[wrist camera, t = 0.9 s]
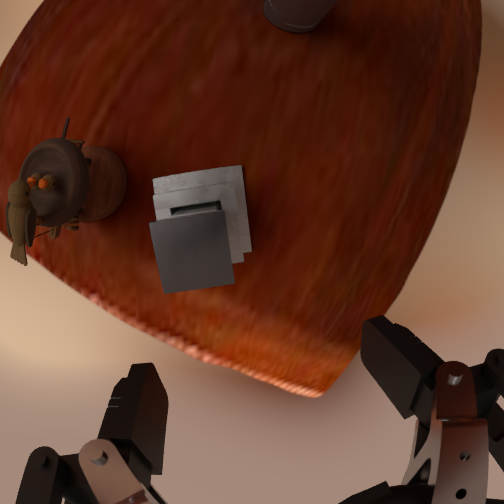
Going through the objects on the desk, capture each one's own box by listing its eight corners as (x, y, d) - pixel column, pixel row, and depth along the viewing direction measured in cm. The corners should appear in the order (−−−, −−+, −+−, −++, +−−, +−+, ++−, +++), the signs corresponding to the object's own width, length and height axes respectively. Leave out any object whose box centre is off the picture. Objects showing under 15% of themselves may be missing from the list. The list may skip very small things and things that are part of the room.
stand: (154, 178, 34) (127, 179, 23) (240, 165, 36) (254, 159, 24) (168, 262, 38) (151, 298, 26) (250, 249, 39) (267, 280, 27)
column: (181, 200, 35) (148, 223, 17) (218, 194, 35) (224, 210, 17) (187, 236, 36) (164, 293, 18) (223, 231, 36) (235, 283, 19)
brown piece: (129, 231, 36) (45, 281, 16) (70, 228, 35) (-22, 267, 16) (135, 124, 32) (51, 84, 12) (73, 130, 31) (-21, 113, 12)
